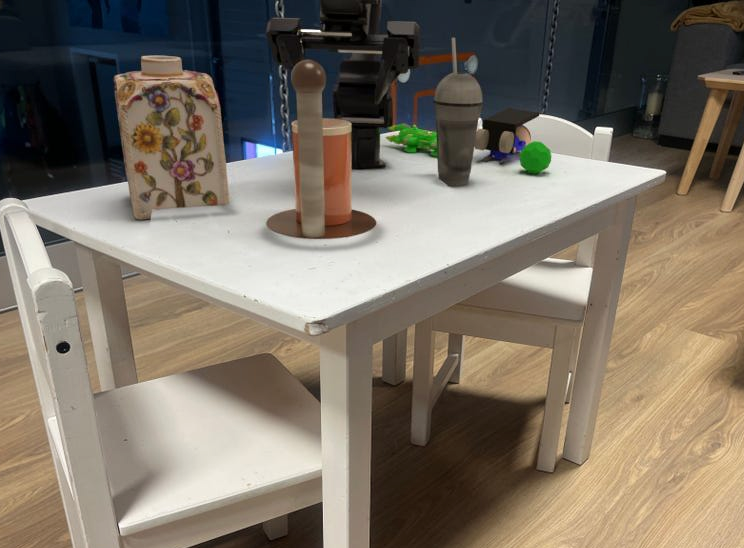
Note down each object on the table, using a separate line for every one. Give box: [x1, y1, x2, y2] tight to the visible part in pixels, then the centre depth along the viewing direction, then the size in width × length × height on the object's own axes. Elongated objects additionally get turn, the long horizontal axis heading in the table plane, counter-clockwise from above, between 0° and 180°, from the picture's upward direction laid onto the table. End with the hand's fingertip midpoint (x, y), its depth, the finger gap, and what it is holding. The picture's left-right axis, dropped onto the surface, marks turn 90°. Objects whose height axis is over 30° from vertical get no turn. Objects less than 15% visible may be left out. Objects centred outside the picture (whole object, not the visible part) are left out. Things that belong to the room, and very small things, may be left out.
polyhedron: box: [518, 140, 552, 175], centre depth 115 cm, size 5×5×5 cm
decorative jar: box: [113, 55, 230, 221], centre depth 90 cm, size 12×12×18 cm
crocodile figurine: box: [385, 122, 437, 158], centre depth 128 cm, size 7×18×4 cm, turn 56°
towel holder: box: [265, 59, 377, 240], centre depth 81 cm, size 13×13×19 cm
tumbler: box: [290, 117, 353, 226], centre depth 84 cm, size 7×7×11 cm
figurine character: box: [474, 107, 540, 164], centre depth 125 cm, size 7×8×15 cm
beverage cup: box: [432, 37, 484, 187], centre depth 105 cm, size 7×7×20 cm
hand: (339, 100), depth 88 cm, fingers open, 9 cm apart
